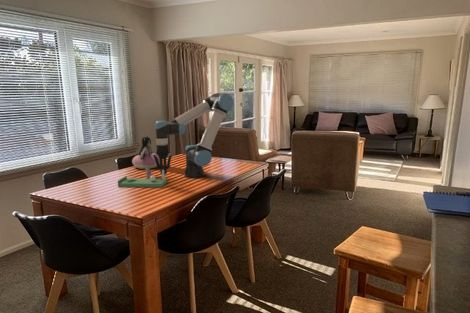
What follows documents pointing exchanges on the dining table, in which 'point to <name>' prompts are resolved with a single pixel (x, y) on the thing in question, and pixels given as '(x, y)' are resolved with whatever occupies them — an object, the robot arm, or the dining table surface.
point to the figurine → (146, 155)
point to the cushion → (138, 163)
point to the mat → (141, 182)
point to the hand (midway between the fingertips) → (163, 178)
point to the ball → (152, 178)
